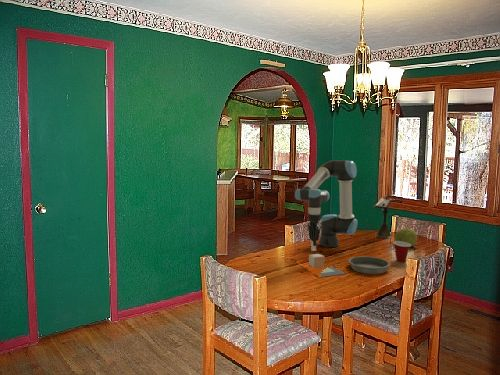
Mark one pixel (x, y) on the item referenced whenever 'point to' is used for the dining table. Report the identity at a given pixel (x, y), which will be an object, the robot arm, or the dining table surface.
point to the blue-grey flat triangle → (331, 272)
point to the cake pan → (369, 264)
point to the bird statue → (384, 229)
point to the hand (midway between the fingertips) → (313, 250)
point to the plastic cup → (401, 250)
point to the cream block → (316, 260)
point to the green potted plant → (406, 236)
